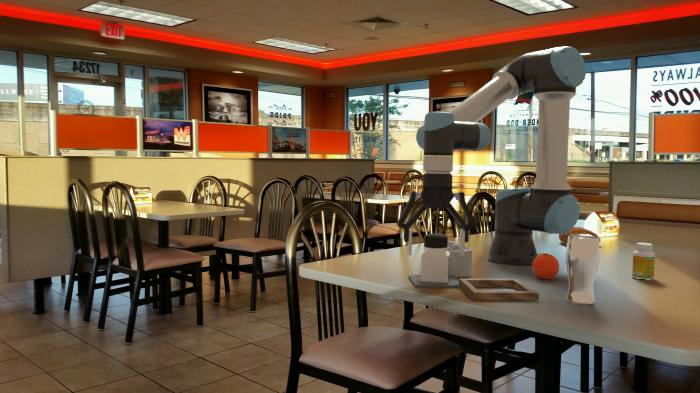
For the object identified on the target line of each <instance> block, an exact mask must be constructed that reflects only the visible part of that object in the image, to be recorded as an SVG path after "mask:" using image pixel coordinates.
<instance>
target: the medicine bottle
mask: <svg viewBox="0 0 700 393" xmlns="http://www.w3.org/2000/svg"><path fill="white" fill-rule="evenodd" d="M423 238H424V240H423V249H422V251H421V255H420V275H421V280H420V281H421V282H431V283H449V258H450V253H449V251H447V248H448V239H449V238H448V235H445V234H442V233H428V234H425V235H424V237H423Z"/></svg>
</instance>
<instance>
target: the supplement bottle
mask: <svg viewBox="0 0 700 393" xmlns="http://www.w3.org/2000/svg"><path fill="white" fill-rule="evenodd" d="M653 245H654V244H653V243H650V242H649V243H648V242H636V246H635V247H636V250H635V251H633V254H632V270H631V271H632V272H631V277H632V278H633V277H635V278H641V279H653V278H654V279H655V265H656V264H655V263H656V254H655V252H654V251H652V250H653V249H654V248H653V247H654V246H653ZM654 279H653V280H654Z"/></svg>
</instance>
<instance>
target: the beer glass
mask: <svg viewBox="0 0 700 393" xmlns="http://www.w3.org/2000/svg"><path fill="white" fill-rule="evenodd" d="M599 238H600V236H599V237H597V236H591V235H568V240H567V245H566V250H565V262H566V272H567V277H568V279H567V280H568V287H567V288H568V289H567V294H566V298H565V301H567V302H568V301H569V303H570V302H572V303H571V304H574V303H579V304H578V305H580V304H591V303H594V304H595V303H596V299H595V298H596V297H595V293H594V288H595V287H594V286H595V281H596V276H597V272H598V268H599V262H600V241H599Z"/></svg>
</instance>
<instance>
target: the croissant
mask: <svg viewBox="0 0 700 393" xmlns="http://www.w3.org/2000/svg"><path fill="white" fill-rule="evenodd" d="M568 235H591V236H597V237H599V242H601V238H600V236H599V235H598V234H596V233H595V232H594V231H592V230H589V229H586V228H584V227H581V226H573V228H572V229H571V230H570V231H569V232H567V233H564V234H558V239H559V241H560V242H561V243H562V244H564V245H566V246H567V240H568Z"/></svg>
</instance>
